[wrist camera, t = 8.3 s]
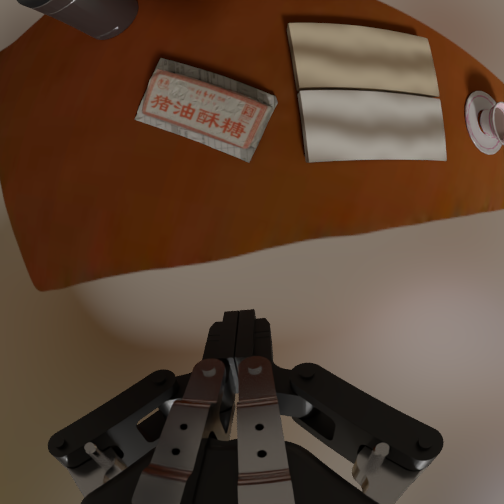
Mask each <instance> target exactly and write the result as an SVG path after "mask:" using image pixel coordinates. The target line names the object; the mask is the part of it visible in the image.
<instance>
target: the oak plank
mask: <svg viewBox="0 0 504 504" xmlns="http://www.w3.org/2000/svg"><path fill="white" fill-rule="evenodd" d="M287 35H288V40H289V46H290V51H291V57H292V63H293V70H294V76H295V83H296V90H297V91H306V90H355V91H375V92H387V93H398V94H407V95H415V96H422V97H428V98H433V97H438V96H439V91H438V85H437V79H436V74H435V69H434V64H433V59H432V55H431V51H430V47H429V43H428V39H427V38H423V37H419V36H415V35H410V34H406V33H401V32H396V31H391V30H385V29H378V28H372V27H364V26H355V25H344V24H329V23H288V27H287Z"/></svg>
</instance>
